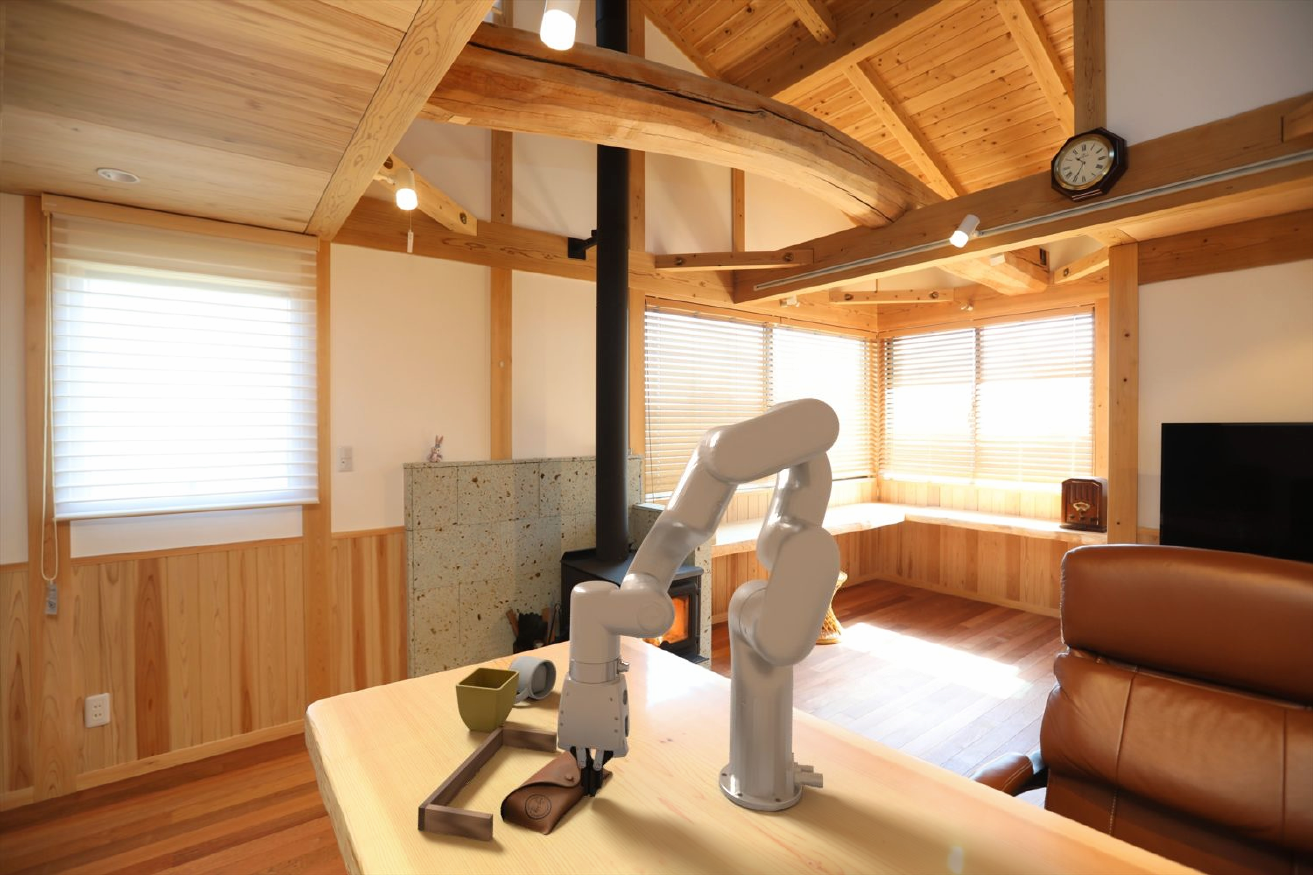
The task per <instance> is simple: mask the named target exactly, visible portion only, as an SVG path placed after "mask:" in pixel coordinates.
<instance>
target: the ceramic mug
mask: <svg viewBox="0 0 1313 875" xmlns="http://www.w3.org/2000/svg"><path fill="white" fill-rule="evenodd" d="M507 670H515V671H519V680H518V687H517V693H519V694H516V699H515V702H514V705H518V704H519V703H521V702H523V701H525V699H527V698H528V697H529V698H532V699H535V700H543V699H545V698H546V697H548V696H549V695H550V694H551V692H552V690H554V687H555V684H556V682H557V669H556V665H555V664H554V662H553V661H552V660H550V659H547V658H540V657H535V656H530V655H520V656H518V657H515V659H514V660H513V661H511V663H510V665H509V666H508V669H507Z"/></svg>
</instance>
